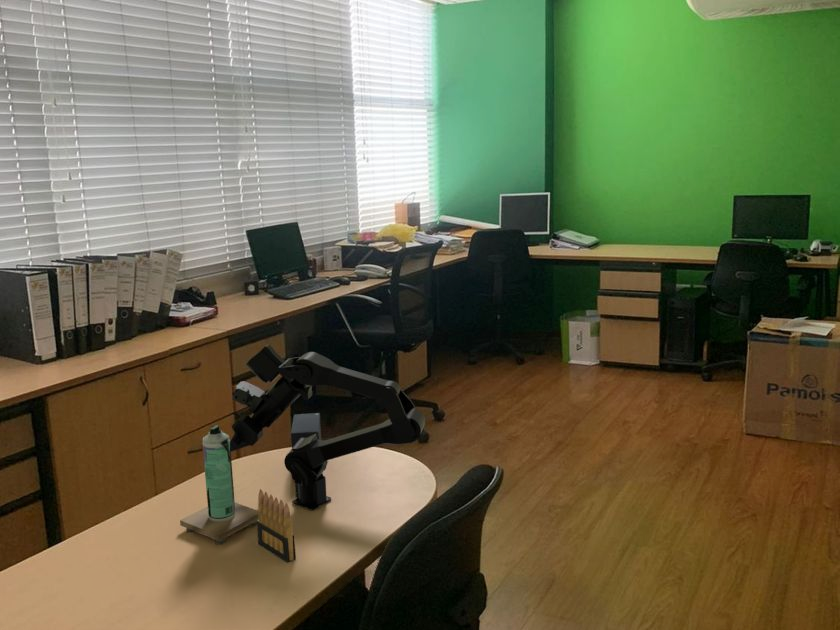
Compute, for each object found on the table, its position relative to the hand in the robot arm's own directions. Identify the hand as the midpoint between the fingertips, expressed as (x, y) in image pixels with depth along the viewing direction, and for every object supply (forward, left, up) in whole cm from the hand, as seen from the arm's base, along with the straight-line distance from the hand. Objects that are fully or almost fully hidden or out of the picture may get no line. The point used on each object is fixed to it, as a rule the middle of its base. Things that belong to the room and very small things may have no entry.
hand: (235, 442), depth 175 cm
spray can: (-7, +11, -11) cm, 18 cm away
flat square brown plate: (-7, +11, -14) cm, 19 cm away
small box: (-1, -22, -14) cm, 26 cm away
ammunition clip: (-24, +12, -14) cm, 31 cm away
